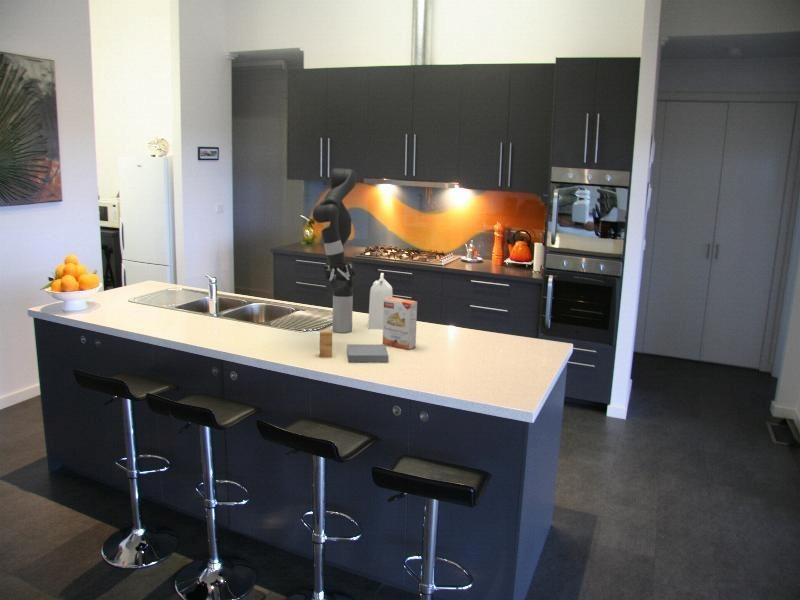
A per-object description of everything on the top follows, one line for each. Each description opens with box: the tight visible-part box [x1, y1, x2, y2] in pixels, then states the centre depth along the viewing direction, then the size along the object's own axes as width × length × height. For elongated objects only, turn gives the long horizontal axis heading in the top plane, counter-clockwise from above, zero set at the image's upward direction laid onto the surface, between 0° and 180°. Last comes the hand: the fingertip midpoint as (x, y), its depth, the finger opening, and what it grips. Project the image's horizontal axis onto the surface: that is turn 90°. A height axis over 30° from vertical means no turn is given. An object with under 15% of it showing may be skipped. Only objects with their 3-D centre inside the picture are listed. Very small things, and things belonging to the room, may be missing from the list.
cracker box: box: [382, 296, 418, 351], centre depth 293 cm, size 14×6×21 cm, turn 57°
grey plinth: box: [346, 343, 389, 364], centre depth 277 cm, size 16×16×3 cm
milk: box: [367, 272, 394, 331], centre depth 326 cm, size 12×12×26 cm
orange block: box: [319, 330, 333, 358], centre depth 277 cm, size 5×5×10 cm
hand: (343, 288), depth 287 cm, fingers open, 8 cm apart
